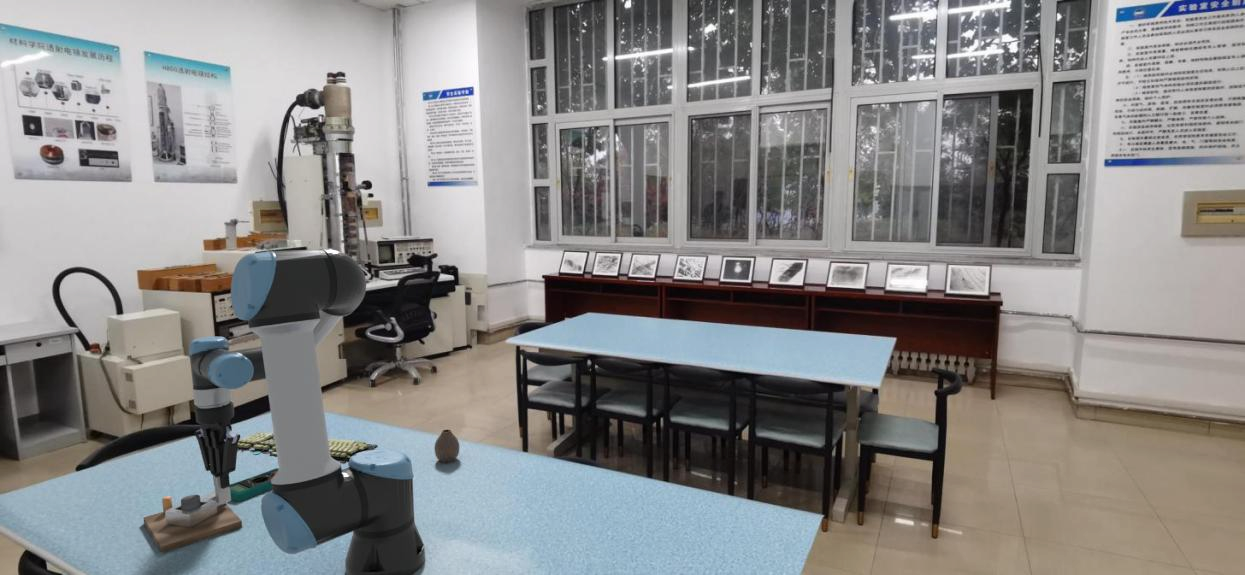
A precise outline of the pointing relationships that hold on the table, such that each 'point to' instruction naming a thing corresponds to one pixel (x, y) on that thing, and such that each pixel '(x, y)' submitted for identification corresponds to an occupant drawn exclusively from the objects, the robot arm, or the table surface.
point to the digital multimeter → (252, 486)
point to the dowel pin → (167, 503)
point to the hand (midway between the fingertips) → (223, 500)
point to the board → (181, 535)
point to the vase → (446, 446)
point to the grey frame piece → (194, 512)
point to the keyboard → (337, 447)
